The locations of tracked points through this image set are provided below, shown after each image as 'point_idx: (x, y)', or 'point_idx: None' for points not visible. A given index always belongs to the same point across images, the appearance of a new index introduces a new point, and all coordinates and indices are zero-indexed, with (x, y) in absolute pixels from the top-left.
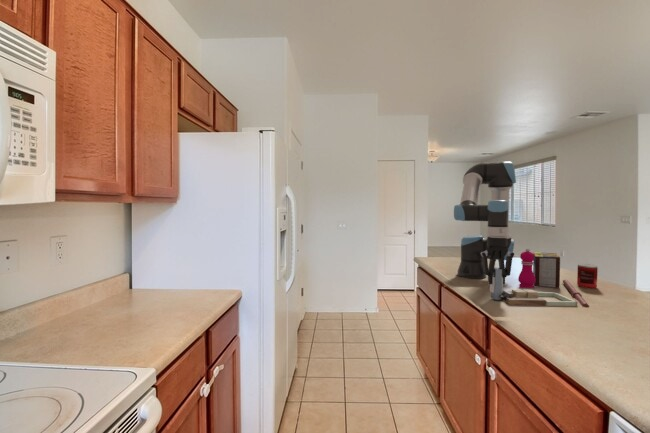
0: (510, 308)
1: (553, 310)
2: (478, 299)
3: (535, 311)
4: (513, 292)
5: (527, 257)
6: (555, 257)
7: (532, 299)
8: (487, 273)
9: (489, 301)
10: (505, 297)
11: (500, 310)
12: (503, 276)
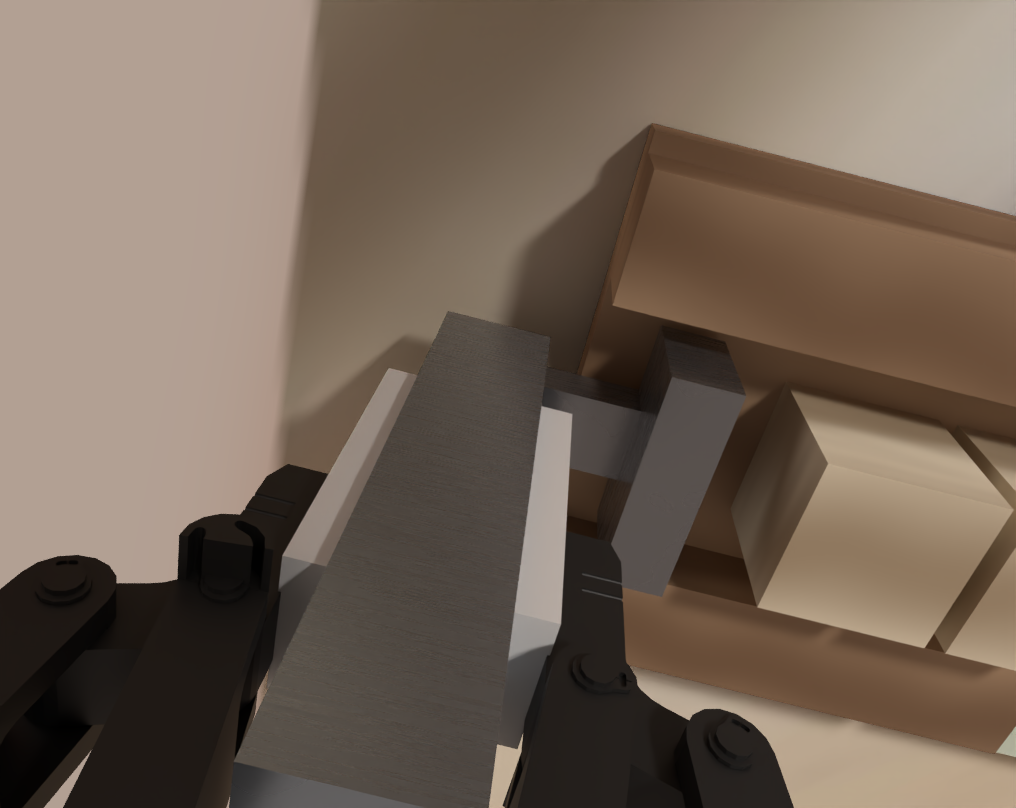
0: None
1: None
2: (307, 166)
3: (712, 708)
4: (791, 495)
5: None
6: None
7: (845, 694)
8: (64, 733)
9: (425, 297)
10: (599, 468)
11: None
12: (508, 790)
